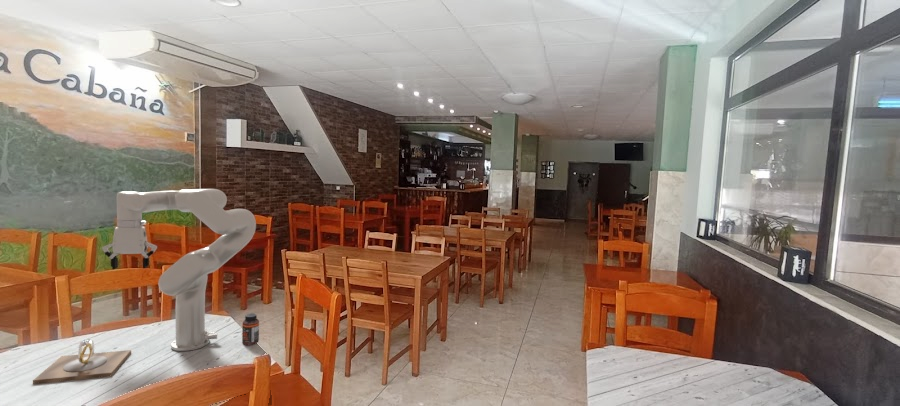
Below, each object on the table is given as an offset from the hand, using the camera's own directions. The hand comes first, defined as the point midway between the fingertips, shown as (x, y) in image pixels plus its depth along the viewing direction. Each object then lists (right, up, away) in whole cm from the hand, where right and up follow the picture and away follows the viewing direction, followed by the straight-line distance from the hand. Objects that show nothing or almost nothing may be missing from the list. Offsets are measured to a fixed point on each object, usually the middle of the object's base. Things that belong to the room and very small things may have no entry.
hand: (130, 268), depth 161 cm
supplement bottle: (+44, -31, +5) cm, 54 cm away
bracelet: (+1, -29, -20) cm, 35 cm away
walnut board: (0, -30, -20) cm, 36 cm away
